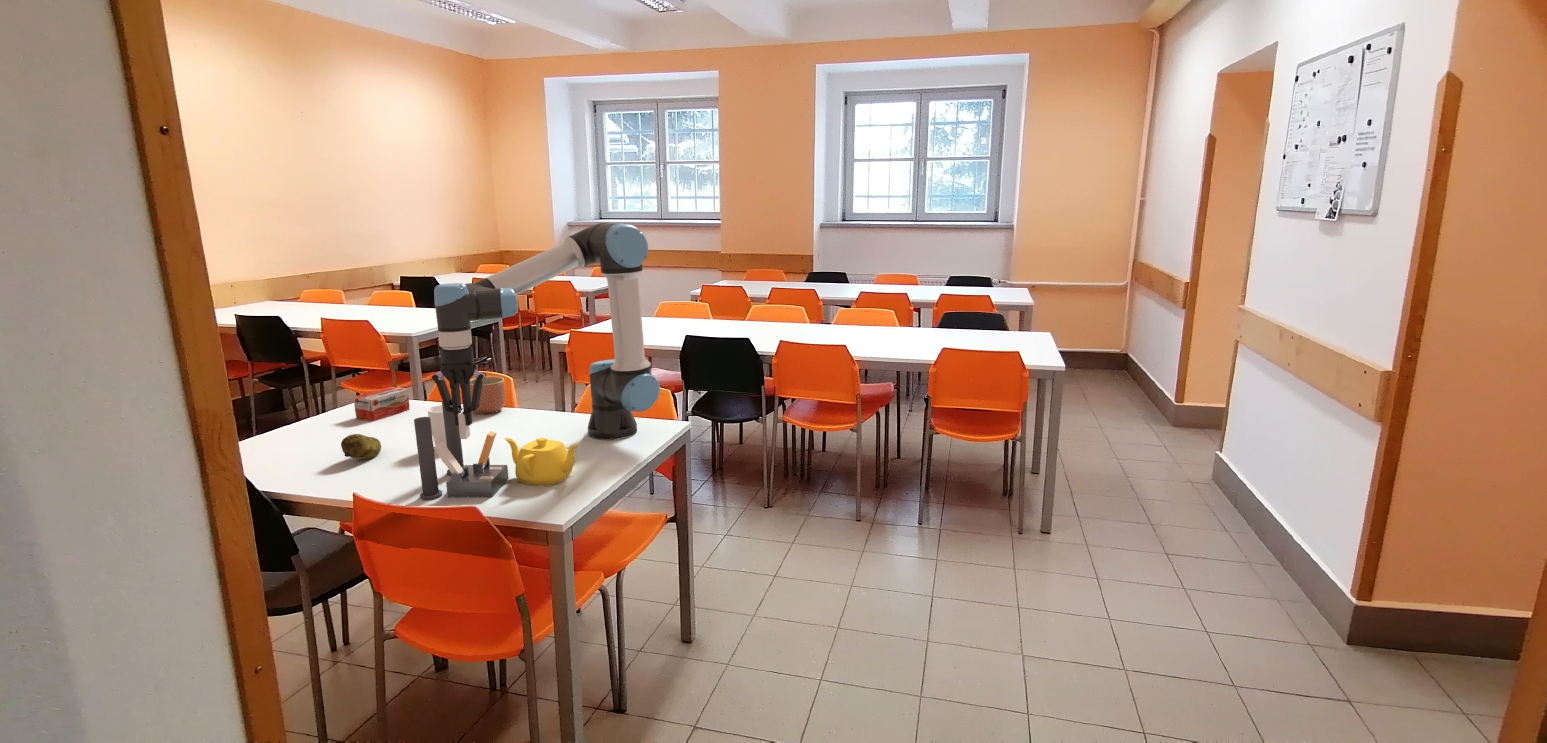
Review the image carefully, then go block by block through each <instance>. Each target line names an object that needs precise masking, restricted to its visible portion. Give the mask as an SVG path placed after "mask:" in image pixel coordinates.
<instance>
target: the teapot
mask: <svg viewBox="0 0 1547 743" xmlns="http://www.w3.org/2000/svg"><path fill="white" fill-rule="evenodd" d="M504 440H505V441H506V442H507V443H508V444H509V445H510V449H511V456H512V461H513V463H514V465H515V468H514V469H515V471H514V473H515V477H516V479H517V480H518V481H519V482H520V484H521V483H522V484H524V483H525V485H529V484H530V486H538V485H548V486H553V485H552V484H555V485H557V484H556V483H558V484H560V483H562V482H563V481H564V480H566V479H567V478H568V477H570V475H571V473H572V471H573V467H574V465H575V451H576V449H577V447H579V446H580V443H577V444H576V443H575V444H572V445H570V446H569V448H567V447H566V445H565V444H564V442H562V441H559V440H554V439H548V438H547V437H539V438H536V439H535V440H532V441H529V442H528V443H526V444H524V445H523V446H521V447H520V449H519V446H518V444H517V442H516V440H514V439H512V438H508V437H504ZM565 478H566V479H565ZM562 480H563V481H562ZM559 482H560V483H559Z"/></svg>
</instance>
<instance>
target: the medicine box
mask: <svg viewBox="0 0 1547 743" xmlns="http://www.w3.org/2000/svg"><path fill="white" fill-rule="evenodd" d="M408 391H409V390H408V388H403V387H396V386H388V387H384V388H382V389H381V388H380V389H377V390H373V391H370V392H366V393H363V394H360V395H355V396H354V397H353V405H354V412H355V418H356V420H363V421H368V422H377V421H380V420H384V419H386V418H389V417H392V416H396V415H400V414H403V413H405V412H404V411H406V412H408V411H407V410H409V411H410V398H409V392H408ZM402 412H403V413H402Z"/></svg>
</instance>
